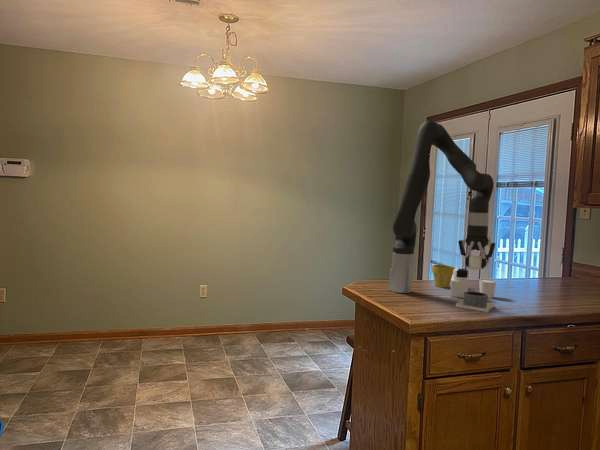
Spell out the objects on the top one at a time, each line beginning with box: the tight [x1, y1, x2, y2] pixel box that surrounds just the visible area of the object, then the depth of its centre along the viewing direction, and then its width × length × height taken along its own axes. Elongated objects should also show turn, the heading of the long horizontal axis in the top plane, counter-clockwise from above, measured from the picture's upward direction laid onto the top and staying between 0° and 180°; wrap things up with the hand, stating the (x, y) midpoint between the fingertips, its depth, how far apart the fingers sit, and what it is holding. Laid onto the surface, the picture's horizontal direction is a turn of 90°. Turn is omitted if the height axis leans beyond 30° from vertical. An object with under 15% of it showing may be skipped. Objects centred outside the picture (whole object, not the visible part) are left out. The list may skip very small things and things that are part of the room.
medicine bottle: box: [449, 268, 470, 299], centre depth 199 cm, size 7×7×12 cm
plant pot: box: [431, 264, 455, 288], centre depth 220 cm, size 10×10×10 cm
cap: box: [468, 254, 483, 271], centre depth 179 cm, size 5×5×5 cm
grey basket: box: [455, 290, 495, 313], centre depth 181 cm, size 12×12×5 cm
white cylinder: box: [478, 279, 497, 299], centre depth 201 cm, size 7×7×7 cm
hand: (475, 267), depth 180 cm, fingers closed on cap, 5 cm apart
